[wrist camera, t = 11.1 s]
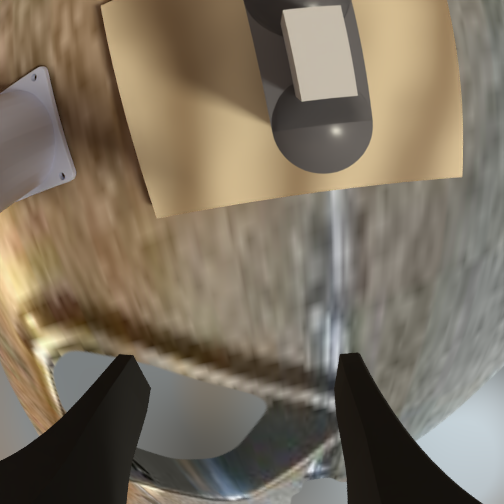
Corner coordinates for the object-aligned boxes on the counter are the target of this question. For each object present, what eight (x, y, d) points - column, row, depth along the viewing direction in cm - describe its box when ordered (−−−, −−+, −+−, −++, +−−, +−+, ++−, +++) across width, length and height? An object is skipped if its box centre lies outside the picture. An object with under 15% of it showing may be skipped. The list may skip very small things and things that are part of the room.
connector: (277, 142, 15) (283, 204, 8) (247, 0, 11) (223, -65, 5) (340, 134, 15) (397, 188, 8) (313, -8, 11) (350, -76, 4)
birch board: (163, 210, 19) (156, 218, 18) (110, 8, 12) (100, 5, 11) (452, 170, 16) (462, 177, 15) (426, -34, 10) (435, -39, 9)
